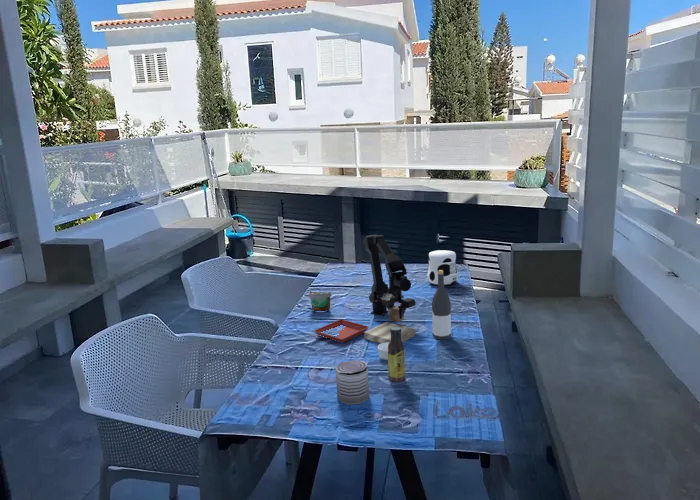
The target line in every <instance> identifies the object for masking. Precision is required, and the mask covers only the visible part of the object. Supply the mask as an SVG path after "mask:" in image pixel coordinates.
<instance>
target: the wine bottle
mask: <svg viewBox="0 0 700 500" xmlns="http://www.w3.org/2000/svg"><path fill="white" fill-rule="evenodd" d="M451 304H452V303H451V299H450V297H449V294H448V293H447V291H446V289H445V286H444V274H443V270H439V271H438V285H437V289H436V291H435V292H434V294H433V297H432V300H431V323H432V324H431V325H432V327H431V329H432V337H433V338H434V339H437V340H448V339H450V338H451V336H452V319H451V318H452V317H451V316H452V312H451V311H452V308H451V307H452V305H451Z"/></svg>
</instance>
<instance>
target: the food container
mask: <svg viewBox="0 0 700 500" xmlns="http://www.w3.org/2000/svg"><path fill="white" fill-rule="evenodd" d="M331 297H332V293H331V291H329V292H321V291H319V292H317V291H316V292H315V291H314V292H312V290H309V292H308V298H310V299H309V300H310V304H311V309H312V310H311V311H313V310H314V311H326V310H329V309H330V310H331Z"/></svg>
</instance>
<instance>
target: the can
mask: <svg viewBox="0 0 700 500" xmlns="http://www.w3.org/2000/svg"><path fill="white" fill-rule="evenodd" d="M368 366H369V364H368V363H367V362H366V361H364V360H354V359H353V360H348V361H344V362H340V363H339V364H337V365H336V366H335V367H334V369H335V382H336V397H337V399H339V400H340V401H341V402H342V403H341V402H340V401H339V402H340V403H341V404H345V403H346V405H360V404H362V403H364V402H366V401H368V399H369V396H370V388H369V385H370V384H369V367H368Z"/></svg>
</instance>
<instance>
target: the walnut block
mask: <svg viewBox="0 0 700 500" xmlns="http://www.w3.org/2000/svg"><path fill="white" fill-rule="evenodd" d="M398 306H399V305H394V306H393V307H391V308H389V310H388V322H391V323H392V322H394V323H395V324H398V323H400V322H402V321H404V320H405V314H404V315H403V317H402V319H400V313H399V308H398Z"/></svg>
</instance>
